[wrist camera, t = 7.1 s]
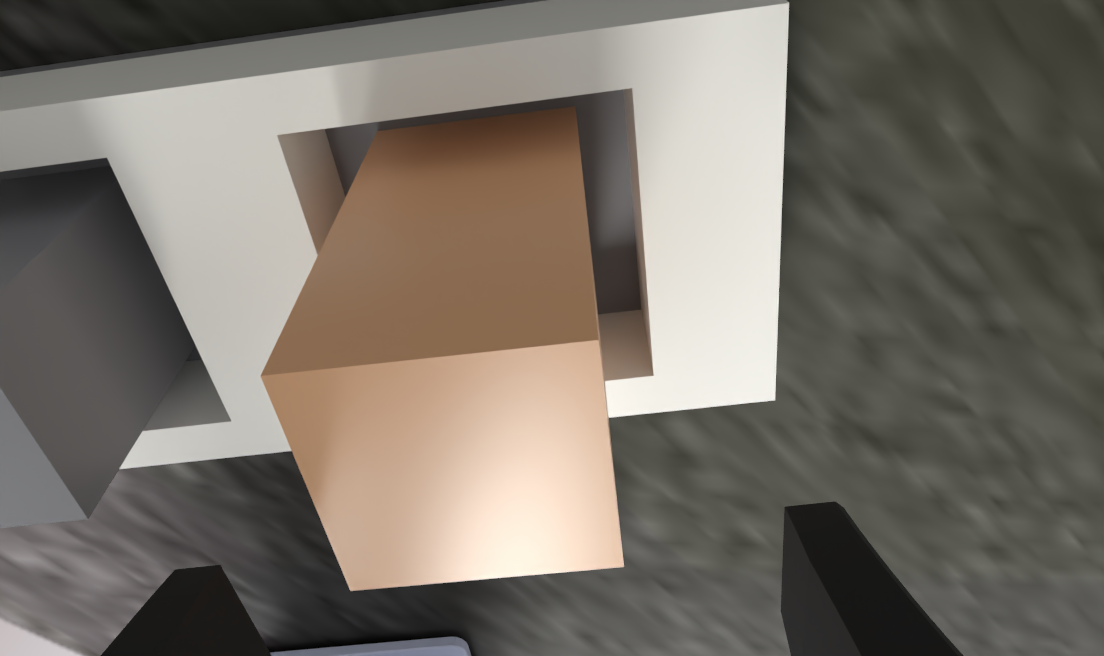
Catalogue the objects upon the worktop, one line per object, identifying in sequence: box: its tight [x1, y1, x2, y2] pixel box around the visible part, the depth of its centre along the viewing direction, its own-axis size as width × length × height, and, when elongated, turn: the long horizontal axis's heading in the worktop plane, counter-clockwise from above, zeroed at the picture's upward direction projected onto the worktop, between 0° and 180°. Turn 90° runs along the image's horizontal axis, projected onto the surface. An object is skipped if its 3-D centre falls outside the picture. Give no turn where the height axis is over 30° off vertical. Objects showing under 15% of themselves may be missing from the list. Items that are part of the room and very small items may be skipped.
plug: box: [261, 106, 624, 591], centre depth 14 cm, size 4×4×8 cm
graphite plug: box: [0, 166, 195, 528], centre depth 15 cm, size 4×4×6 cm
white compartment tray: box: [0, 0, 789, 469], centre depth 16 cm, size 8×20×4 cm, turn 97°
